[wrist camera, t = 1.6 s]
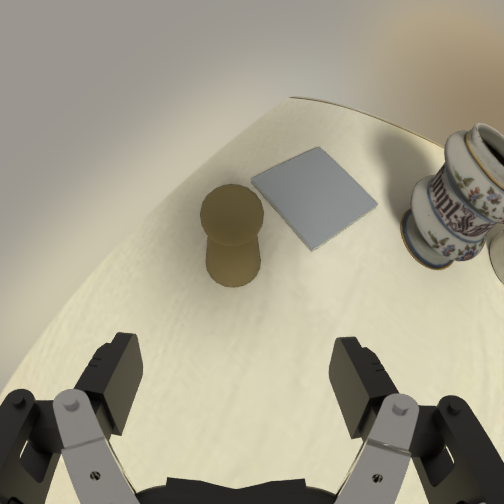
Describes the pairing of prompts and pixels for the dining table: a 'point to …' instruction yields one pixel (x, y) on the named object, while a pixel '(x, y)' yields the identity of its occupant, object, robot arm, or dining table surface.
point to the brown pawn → (232, 234)
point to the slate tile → (314, 196)
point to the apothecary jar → (457, 200)
